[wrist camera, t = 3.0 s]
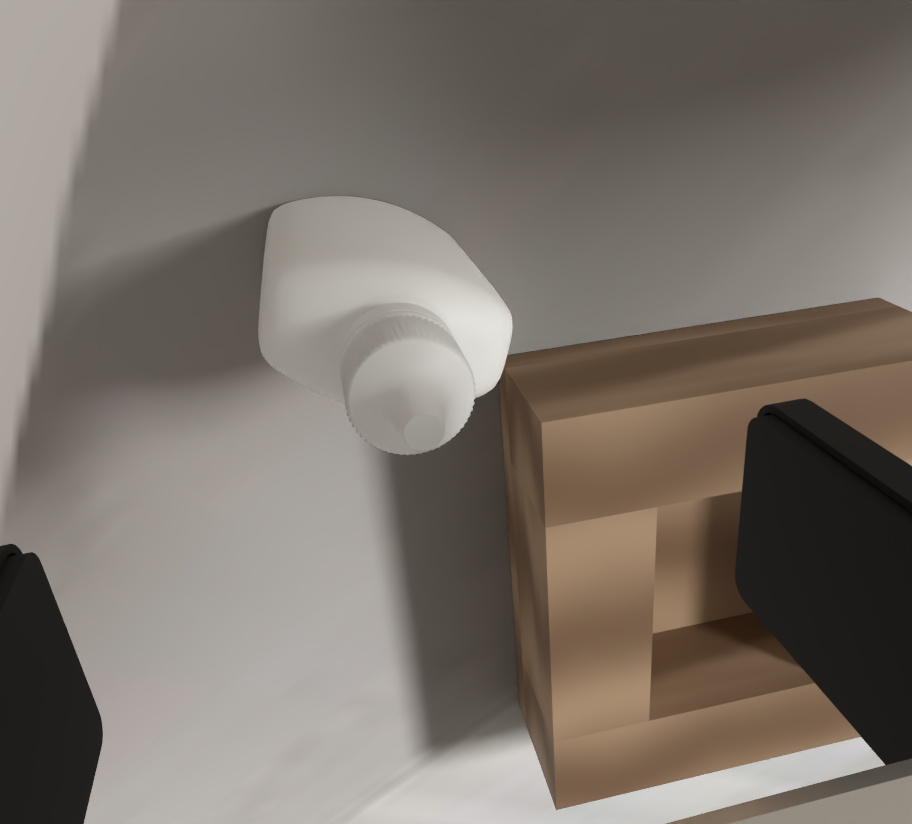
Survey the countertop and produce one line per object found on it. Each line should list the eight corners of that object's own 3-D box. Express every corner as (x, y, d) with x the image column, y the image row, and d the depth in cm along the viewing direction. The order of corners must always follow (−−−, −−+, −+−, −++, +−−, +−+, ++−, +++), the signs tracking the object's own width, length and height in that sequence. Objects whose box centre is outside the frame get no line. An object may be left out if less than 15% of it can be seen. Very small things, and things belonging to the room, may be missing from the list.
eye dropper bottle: (386, 360, 25) (461, 595, 15) (238, 252, 23) (200, 438, 12) (475, 256, 24) (623, 426, 14) (331, 131, 22) (376, 222, 11)
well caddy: (497, 357, 26) (541, 422, 22) (879, 297, 28) (990, 346, 24) (519, 706, 33) (556, 810, 29) (822, 639, 35) (900, 727, 31)
